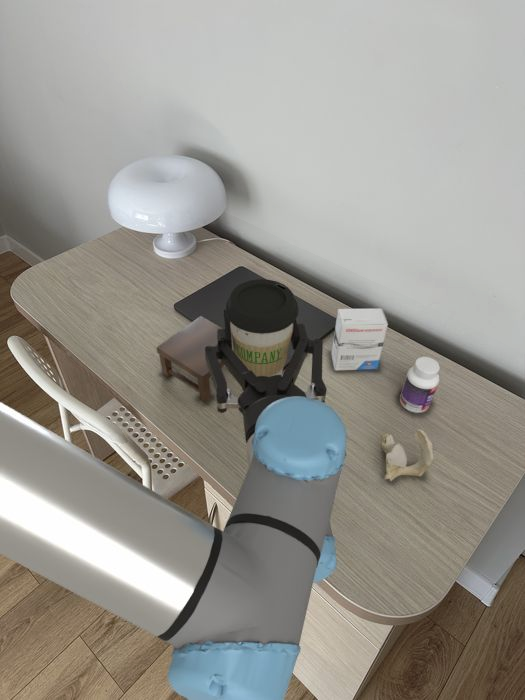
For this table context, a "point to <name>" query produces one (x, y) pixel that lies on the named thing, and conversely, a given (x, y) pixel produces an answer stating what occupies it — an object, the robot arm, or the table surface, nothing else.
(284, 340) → the coffee cup
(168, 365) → the small brown wooden table
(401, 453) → the bone
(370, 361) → the ink box
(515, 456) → the table surface
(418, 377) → the pill bottle
